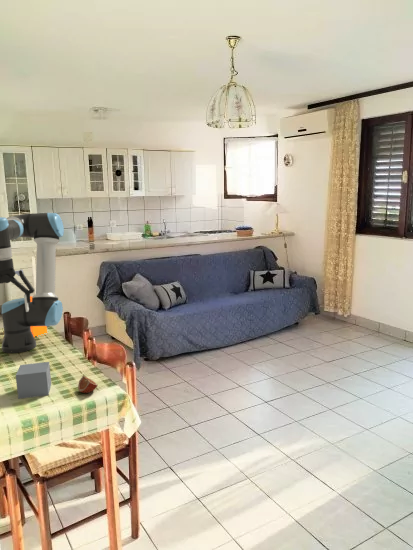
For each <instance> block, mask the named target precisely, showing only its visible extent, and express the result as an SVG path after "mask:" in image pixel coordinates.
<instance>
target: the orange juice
mask: <svg viewBox="0 0 413 550" xmlns="http://www.w3.org/2000/svg"><path fill="white" fill-rule="evenodd" d="M32 297H33V295H30V299H31V301H30V302H32ZM30 327H31V332H32V334H33V336H34V338H36V337H35V336H37V337H39V336H38V335H41V334H44V333H47V334H48V326H30ZM44 335H45V334H44ZM41 336H42V335H41Z"/></svg>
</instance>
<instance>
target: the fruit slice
mask: <svg viewBox="0 0 413 550" xmlns="http://www.w3.org/2000/svg"><path fill="white" fill-rule="evenodd" d="M97 387H98V384H97V383H96V381H94V380H92V379H91V378H89V377H86V376H84V375H82V376H81V378H80V379H79V381H78V385H77V388H78V389H77V390H78V391H79V392H80V393H82V394H90V393H92V392H93V391H94V390H95V389H96V388H97Z"/></svg>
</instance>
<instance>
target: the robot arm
mask: <svg viewBox="0 0 413 550" xmlns="http://www.w3.org/2000/svg"><path fill="white" fill-rule="evenodd" d="M64 232H65V228H64V223H63V220H62V218H61V216H60V215H59V214H58V213H56V212H44V213H43V212H40V213H39V212H37V213H35V212H33V213H22V214H17V215H12V216H8V217H1V216H0V284H9V283H12V284H13V285H14V286H15V287H17V288H18V289H19V290H20V291H22V292H23V293H24V295H23V297H22V298H21V297H20V298H15V299H11V300H9V301H8V300H7V301H5V302H4V303H2V305H1V316H2V317H1V318H2V324H3V333H4V334H3V339H2V343H1V351H2V352H3V353H5V354H6V353H7V354H17V353H23V352H28V351H30V350H34V348H36V347H37V339H36V337H34V336H33V334H32V332H31V327H30V326H47V327H50V326H51V327H54V326H57V325H58V324H59V323H60V321H61V320H62V317H63V311H64V308H63V303H62V301H61V300H59V297H58V295H57V294H56V265H57V264H56V253H57V244H59V242H60V238H62V237H64ZM18 238H26V239H27V238H31V239H32V238H33V241H34V243H36V266H35V267H36V268H35V287H33V286H32V284H31V283H30V281H29V280H28V278H27V277H26V275H25V273H24V270H23V269H22V268H21V269H19V270H15V269H14V268H15V267H14V260H13V258H12V257H13V252H12V245H11V241H12V240H17V239H18ZM15 275H17V276H18V277H20V279H21V280H22V282H23V283H24V285H25V286H26V287H27V288H26V287H25V286H24V285H23V284H22V283H21V282H20V281H19V280H18V279H17V278H15ZM33 293H35V294H34V295H32V302H30V301H31V299H30V296H31V294H33Z"/></svg>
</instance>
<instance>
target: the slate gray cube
mask: <svg viewBox="0 0 413 550" xmlns="http://www.w3.org/2000/svg"><path fill="white" fill-rule="evenodd" d="M15 381H16V383H15V384H16V390H17V399H18V400H19V399H28V398H29V399H30V398H36V397H42V396H43V397H44V396H49V394H50V390H51V386H52V377H51V366H50V361H45V362H35V363H28V364H27V363H25V364H20V366H19V368H18V369H17V372H16V374H15Z"/></svg>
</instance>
